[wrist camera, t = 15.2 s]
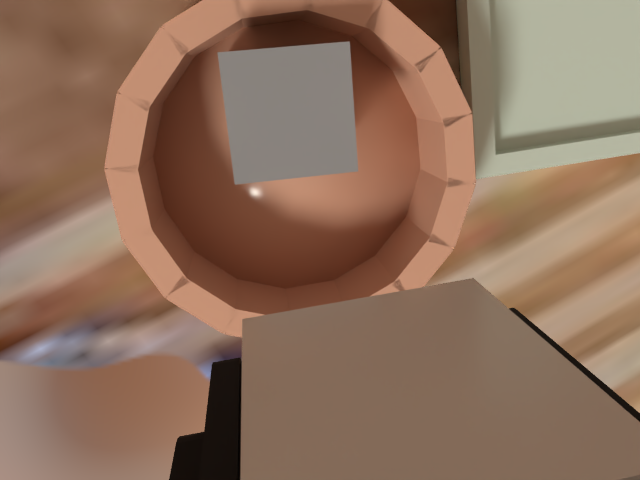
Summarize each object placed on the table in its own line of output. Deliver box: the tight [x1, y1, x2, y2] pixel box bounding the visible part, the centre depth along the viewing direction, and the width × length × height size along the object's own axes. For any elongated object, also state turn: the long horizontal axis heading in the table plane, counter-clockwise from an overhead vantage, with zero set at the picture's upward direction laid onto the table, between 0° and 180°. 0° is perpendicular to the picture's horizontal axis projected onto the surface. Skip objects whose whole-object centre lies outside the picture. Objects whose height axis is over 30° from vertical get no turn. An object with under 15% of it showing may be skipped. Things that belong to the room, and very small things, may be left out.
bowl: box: [104, 0, 476, 337], centre depth 24 cm, size 14×14×4 cm
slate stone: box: [217, 41, 358, 185], centre depth 22 cm, size 4×4×6 cm
